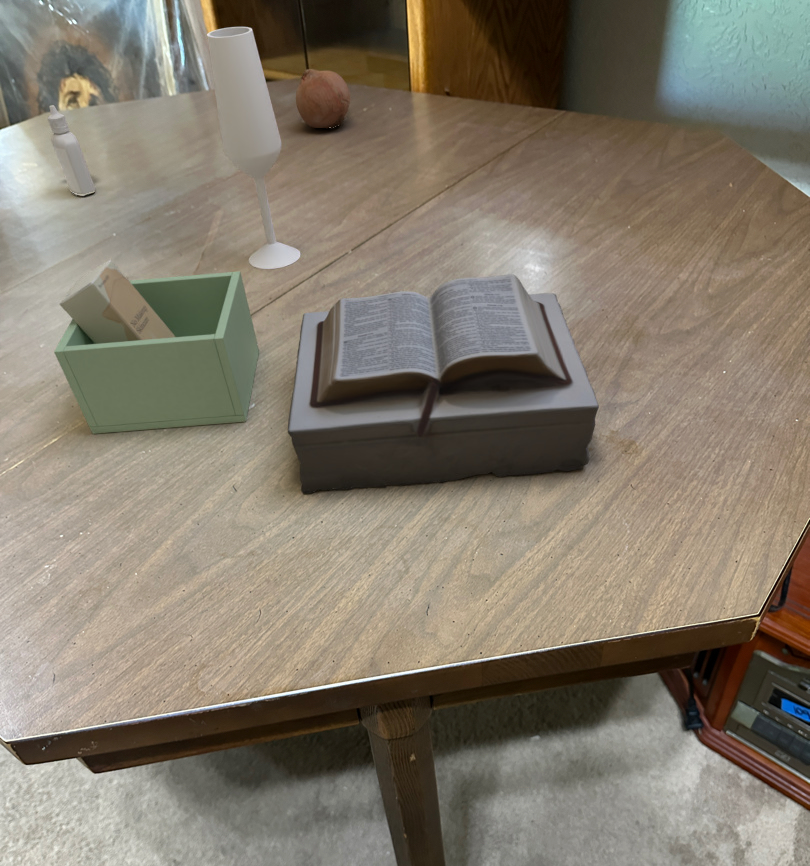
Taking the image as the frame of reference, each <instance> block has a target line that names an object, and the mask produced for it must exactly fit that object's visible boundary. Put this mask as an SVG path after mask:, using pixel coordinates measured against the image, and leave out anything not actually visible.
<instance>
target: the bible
mask: <svg viewBox="0 0 810 866" xmlns="http://www.w3.org/2000/svg"><path fill="white" fill-rule="evenodd" d="M558 301H559V300H558V297H557V294H556V293H554V292H542V293H530V294H529V293H528V291H527V290H526V288H525V287H524V284H523V283H522V282H521V280H520V279H519V277H518V276H517V275H516V274H510V273H508V274H502V275H501V274H499V275H494V276H477V277H475V276H474V277H461V278H460V277H459V278H454V279H451V280H448V281H446V282H443V283H442V284H440V285H439V286H438V287H437V288H436V289H435V290H434V292H433V293H432V294H431V295H430V296H425V295H424V294H421V293H419V292H416V291H410V290H409V291H408V290H402V291H395V292H388V293H384V294H383V293H382V294H377V295H371V296H362V297H348V298H347V297H345V298H340V299H339V300H337V302H335V303H334V305H332V307H331V308H330V310H327V311H326V310H325V311H314V312H305V313H303V314H302V319H301V325H300V331H299V341H298V349H297V356H296V362H295V363H296V365H295V373H294V380H293V381H294V382H293V389H292V394H291V399H290V407H289V408H290V409H289V412H288V421H287V434H288V435H289V437H291V443H292V446H293V449H294V451H295V453H296V457H297V459H298V462H299V480H300V484H301V485H300V486H301V487H300V490H301V493H302V494H303V495H306V494H313V493H315V492H316V491H319V490H321V491H322V490H323V491H331V490H336V491H337V490H352V488H360V489H365V488H375V487H380V488H386V487H387V486H389V485H390V486H391V485H392V486H397V487H398V486H399V487H400V486H401V487H402V486H409V485H413V484H432V483H436V482H437V483H441V484H443V483H445V482H449V481H458V480H460V479H464V478H468V477H469V478H470V477H472V476H475V475H487V474H489V473H491V474H494V475H495V476H496V477H506V476H521V475H523V476H524V475H536V474H538V475H539V474H543V473H551V472H555V471H556V470H558V471H561V472H562V471H563V472H570V471H575V470H584V468H583V466H584V467H585V466H587V465H588V464H589V461H590V450H589V445H590V443H591V441H592V439H593V435H594V432H595V428H596V417H597V415H598V411H599V408H600V405H599V403H598V400H597V395H596V394H595V390H594V388H593V386H592V384H591V382H590V379H589V375H588V372H587V369H586V367H585V365H584V364H583V361H582V359H581V356H580V353H579V351H578V349H577V348H576V345H575V340H574V338H573V335H572V333H571V331H570V328H569V326H568V323H567V320H566V319H565V316H564V312H563V310H562V307H561V304H560V303H559V302H558Z"/></svg>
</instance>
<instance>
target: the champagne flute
mask: <svg viewBox="0 0 810 866" xmlns="http://www.w3.org/2000/svg"><path fill="white" fill-rule="evenodd" d="M206 36H207V37H206V38H207V46H208V53H209V59H210V67H211V73H212V82H213V89H214V95H215V102H216V108H217V109H216V110H217V116H218V123H219V130H220V131H219V132H220V138H221V143H222V151H223V153H224V156H225V157H226V158H227V160H228V161H229V162H230V163H231V164H232V165H233V166H234V167H235V168H236V169H238V170H239V171H240V172H242V173H243V174H245V175H246V176H248V177H250V178H253V180H254V181H253V182H254V186H255V191H256V196H257V201H258V205H259V211H260V215H261V219H262V225H263V230H264V235H265V240H266V243H265V244H263V245H262V246H260V247H259V248H258V249H257V250H256V251H254V252H253V253H252V254H251V255H250V256H249V258H248V263H249V265H250V266H252V267H254V268H257V269H260V270H274V269H281V268H284V267H287V266H291V265H292V264H294V263H296V262H297V261H298V260H299V259H300V257H301V251H300V250H299V249H297V248H296V247H294V246H291V245H288V244H285V243H282V242H279V241H277V239H276V238H277V237H276V232H275V228H274V223H273V217H272V212H271V208H270V207H271V206H270V202H269V197H268V192H267V186H266V183H265V182H266V181H265V177H266V176H267V174H269V173H270V171H271V170H272V168H273V167H274V165H275V164H276V163H277V161H278V158H279V155H280V154H281V150H282V139H281V135H280V131H279V127H278V124H277V119H276V115H275V112H274V107H273V104H272V101H271V97H270V92H269V89H268V85H267V81H266V77H265V73H264V70H263V65H262V62H261V58H260V54H259V50H258V46H257V43H256V39H255V35H254V31H253V28H252V27H248V26H231V27H224V28H218V29H215V30H212V31H210V32H208V33H207V34H206Z"/></svg>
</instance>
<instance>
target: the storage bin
mask: <svg viewBox="0 0 810 866" xmlns="http://www.w3.org/2000/svg"><path fill="white" fill-rule="evenodd" d="M129 282H130V283H131V284H132V285H133V286H134V288H135V289H136V290H137V291H138V292H139V294H140V295H141V296H142V297H143V298H144V300H145V301H146V302H147V303H148V304H149V305H150V307H151V308H152V309H153V310H154V312H155V313H156V314H157V315H158V316H159V317H160V319H161V320H162V321H163V322H164V323H165V325H166V326H167V327H168V328H169V330H170V331H171V332H172V333H173V334H174V336H175V337H174V338H162V339H150V340H138V341H126V342H113V343H101V344H95V343H94V342H93V340H92V339H91V338H90V337H89V336H88V335H87V334H86V333H85V332H84V331H83V330H82V329H81V327H80V326H79V325H78V324H77V323H76V322H75V321H74V320H73V319H72V318H71V321H70V322H69V324H68V326H67V328H66V330H65V331H64V333H63V334H62V337H61V339H60V340H59V342H58V344H57V346H56V347H55V348H54V351H53V353H54V355H55V357H56V359H57V361H58V363H59V366H60V368H61V370H62V372H63V374H64V376H65V378H66V381H67V382H68V385H69V387H70V389H71V391H72V393H73V396H74V398H75V400H76V403H77V404H78V406H79V408H80V410H81V412H82V413H81V414H83V417H84V418H85V421H86V423H87V425H88V427H89V429H90V432H91V433H92V435H96V434H108V433H120V432H122V433H123V432H133V431H145V430H158V429H159V430H160V429H168V428H169V429H171V428H183V427H184V428H185V427H195V426H208V425H218V424H219V425H220V424H234V423H244V422H247V418H248V413H249V407H250V402H251V398H252V397H251V395H252V391H253V386H254V382H255V381H254V380H255V376H256V370H257V364H258V359H259V354H260V347H259V343H258V339H257V335H256V331H255V326H254V322H253V318H252V314H251V310H250V307H249V306H250V305H249V301H248V297H247V294H246V288H245V285H244V280H243V276H242V273H241V271H240V270H238V271H227V272H217V273H216V272H215V273H203V274H202V273H201V274H192V275H191V274H190V275H179V276H167V277H155V278H145V279H131V280H129Z"/></svg>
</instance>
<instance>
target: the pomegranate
mask: <svg viewBox="0 0 810 866" xmlns="http://www.w3.org/2000/svg"><path fill="white" fill-rule="evenodd" d="M350 103H351V94H350V89H349V87H348V85H347V83H346V81H345V80H344V79H343V77H342V76H341V75H339V73H337V72H335V71H332V70H328V69H327V70H317V69H315V68H309V69H308V68H307V69H304V71H303V73H302V76H301V78H300V81H299V84H298V86H297V89H296V91H295V105H296V108H297V111H298V114H299V116H300V117H301V119H302V120H303V122H305V124H307V125H308V126H309V127H310V128H313V129H314V128H326V129H328V128H329V127H331V128H333V127H335V126H338V125H340V124H341V125H342V123H343V122H344V121H345V119H346V116H347V113H348V111H349V107H350ZM341 125H340V126H341Z"/></svg>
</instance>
